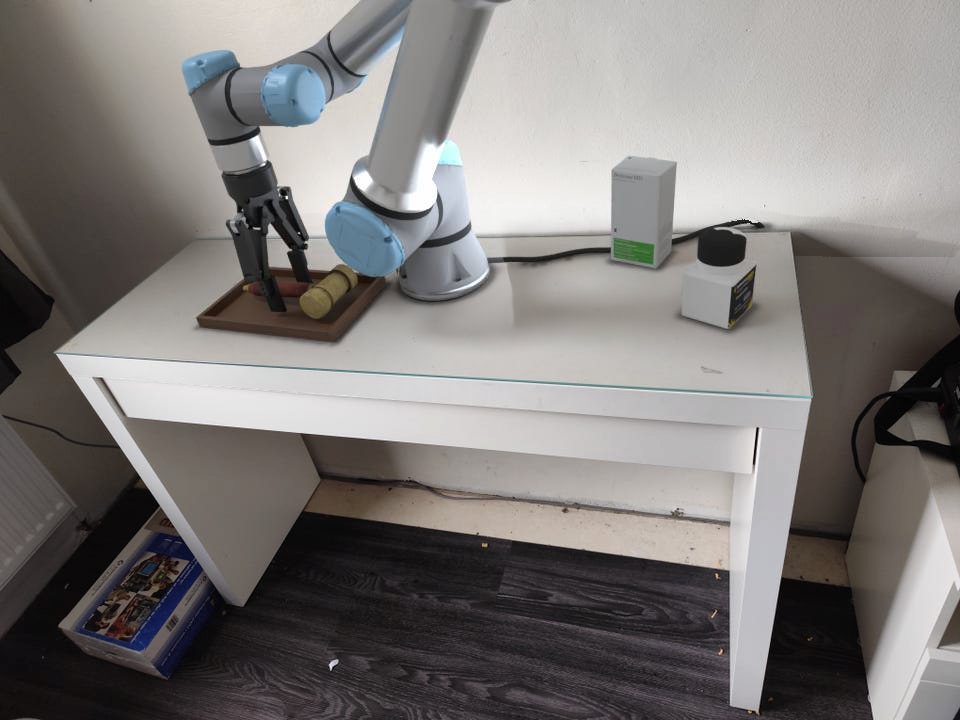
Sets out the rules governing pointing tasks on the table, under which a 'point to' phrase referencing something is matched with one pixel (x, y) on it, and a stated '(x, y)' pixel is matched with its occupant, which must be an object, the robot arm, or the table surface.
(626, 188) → the cosmetic box
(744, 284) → the medicine bottle
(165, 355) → the table surface
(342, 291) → the gavel
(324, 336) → the tray
